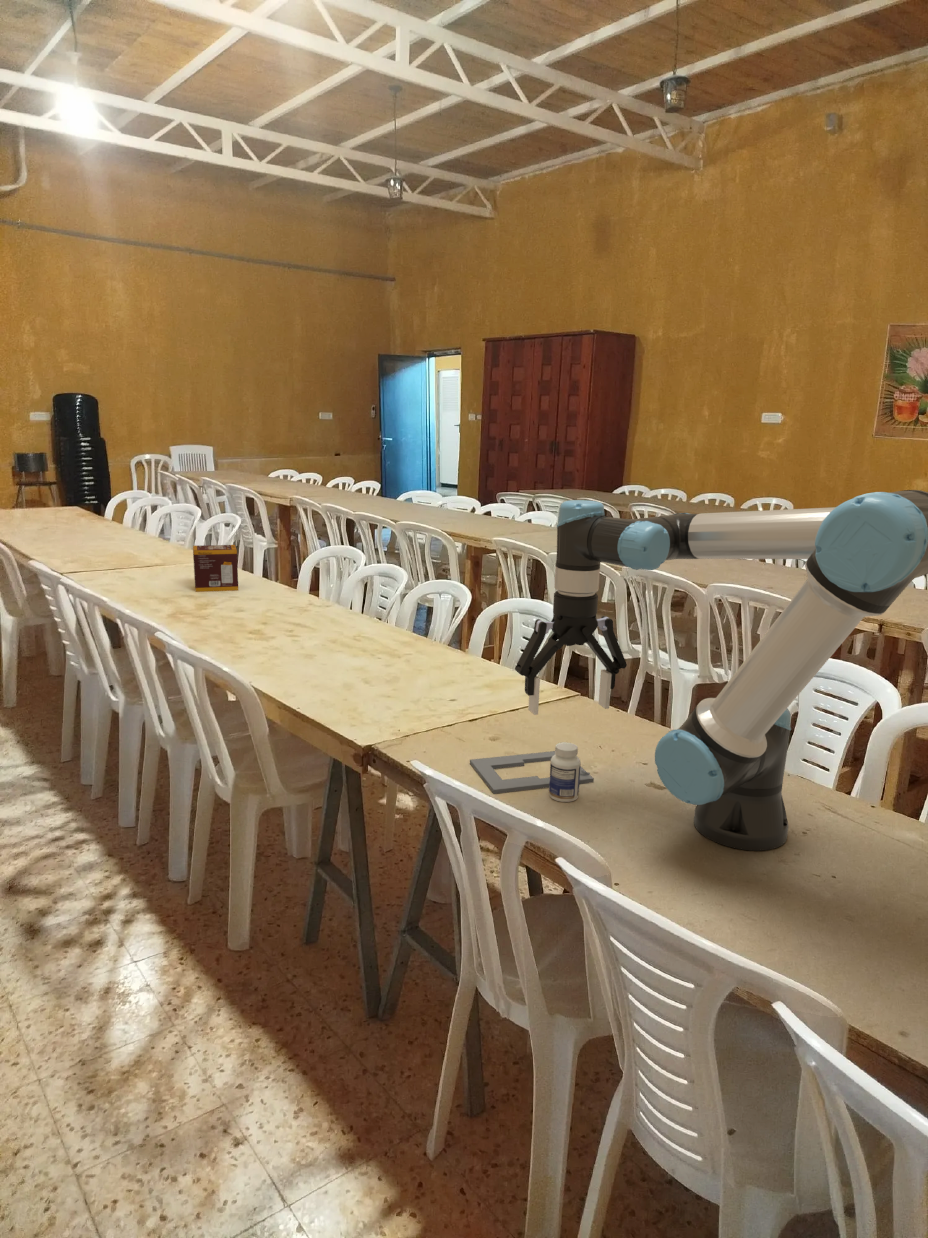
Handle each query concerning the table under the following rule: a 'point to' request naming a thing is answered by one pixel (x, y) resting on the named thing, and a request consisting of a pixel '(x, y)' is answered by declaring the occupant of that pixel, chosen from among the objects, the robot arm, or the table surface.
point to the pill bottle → (565, 773)
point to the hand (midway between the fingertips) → (568, 709)
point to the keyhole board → (516, 784)
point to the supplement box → (215, 568)
